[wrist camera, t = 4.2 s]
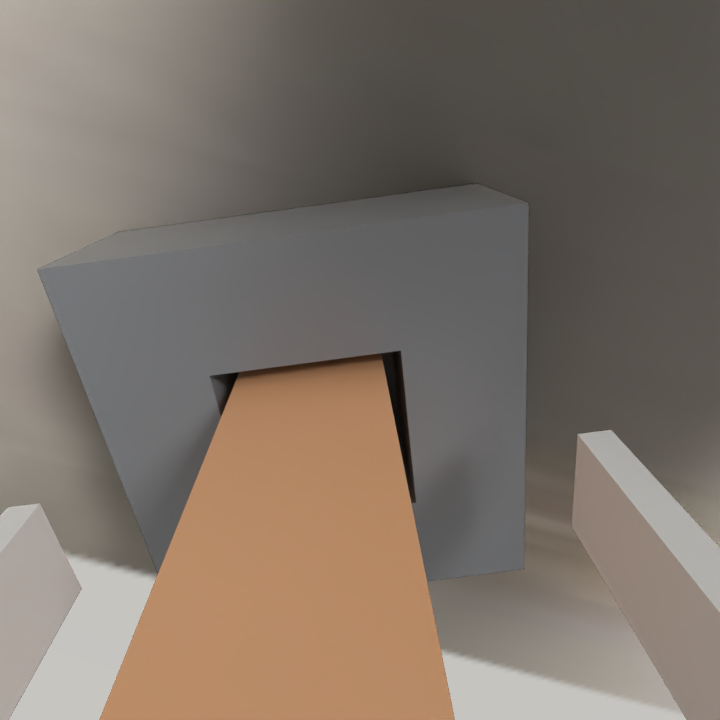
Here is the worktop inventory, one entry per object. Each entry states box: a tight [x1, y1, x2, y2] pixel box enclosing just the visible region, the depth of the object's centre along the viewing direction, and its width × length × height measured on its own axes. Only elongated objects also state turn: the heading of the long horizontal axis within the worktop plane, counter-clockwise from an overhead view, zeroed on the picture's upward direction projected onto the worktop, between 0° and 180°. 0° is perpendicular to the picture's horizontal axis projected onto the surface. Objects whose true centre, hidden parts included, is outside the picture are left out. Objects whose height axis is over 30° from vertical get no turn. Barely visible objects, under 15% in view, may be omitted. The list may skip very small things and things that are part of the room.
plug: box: [100, 353, 454, 720], centre depth 12 cm, size 4×4×14 cm
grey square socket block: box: [37, 183, 529, 581], centre depth 17 cm, size 12×12×5 cm
